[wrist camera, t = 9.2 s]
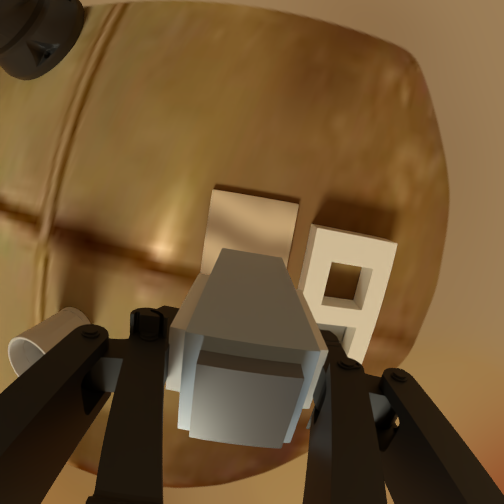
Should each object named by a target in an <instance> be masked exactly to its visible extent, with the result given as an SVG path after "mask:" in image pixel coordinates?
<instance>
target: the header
mask: <svg viewBox="0 0 504 504" xmlns="http://www.w3.org/2000/svg"><path fill="white" fill-rule="evenodd" d="M396 248H397V243H395V242H392V241H390V240H388V239H385V238H381V237H376V236H371V235H366V234H361V233H356V232H351V231H346V230H341V229H336V228H331V227H326V226H321V225H316V224H311V228H310V233H309V238H308V243H307V248H306V253H305V257H304V262H303V267H302V271H301V276H300V280H299V285H298V289H297V290H302V292H303V295H304V297H305V299H306V301H307V303H308V306H309V308H310V310H311V312H312V315H313V317H314V319H315V321H316V323H317V326H318V328H319V329H321V330H329V331H331V332H332V333H333V334H335V335H336V336H337V338H338V340H339V341H340V342H339V343H341V345H342V347H343V349H344V351H345V353H346V355H347V357H348V358H352V359H354V360H356V361H358V362H359V363H360V364H361V365H362V362H363V359H364V356H365V353H366V351H367V348H368V345H369V342H370V339H371V336H372V333H373V330H374V327H375V324H376V321H377V318H378V314H379V311H380V308H381V304H382V301H383V298H384V294H385V291H386V287H387V283H388V280H389V276H390V272H391V268H392V265H393V261H394V257H395V252H396ZM331 262H336V263H342V264H348V265H354V266H360V267H362V269H361V273H360V277H359V281H358V284H357V288H356V292H355V296H354V299H353V300H348V299H341V298H334V297H327V296H324V292H325V288H326V283H327V279H328V275H329V271H330V267H331Z"/></svg>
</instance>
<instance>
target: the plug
mask: <svg viewBox="0 0 504 504" xmlns="http://www.w3.org/2000/svg"><path fill="white" fill-rule="evenodd" d="M320 352H321V351H320V349H319V346H318V344H317V341H316V339H315V336H314V334H313V332H312V329H311V327H310V324H309V322H308V319H307V317H306V314H305V312H304V310H303V307H302V305H301V302H300V300H299V297H298V295H297V293H296V290H295V288H294V285H293V283H292V281H291V278H290V276H289V273H288V271H287V269H286V266H285V264H284V262H283V259H282V258H281V257H275V256H269V255H263V254H257V253H251V252H245V251H239V250H233V249H227V248H222V250H221V252H220V254H219V256H218V258H217V261H216V263H215V265H214V267H213V270H212V272H211V274H210V276H209V279H208V281H207V283H206V285H205V288H204V290H203V292H202V294H201V297H200V299H199V301H198V303H197V306H196V308H195V310H194V313H193V315H192V317H191V320H190V322H189V324H188V327H187V329H186V331H185V339H184V350H183V361H182V373H181V385H180V399H179V414H178V428H179V429H184V430H190V432H189V437H193V438H198V439H204V440H210V441H216V442H223V443H230V444H238V445H247V446H256V447H267V448H281V447H282V444H283V442H284V443H290V441H291V439H292V436H293V433H294V430H295V428H296V425H297V422H298V419H299V417H300V414H301V411H302V408H303V405H304V402H305V399H306V396H307V393H308V390H309V387H310V384H311V381H312V378H313V375H314V372H315V368H316V365H317V362H318V359H319V355H320Z"/></svg>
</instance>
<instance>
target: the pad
mask: <svg viewBox="0 0 504 504" xmlns="http://www.w3.org/2000/svg"><path fill="white" fill-rule="evenodd" d="M298 206H299V204H296V203H290V202H285V201H280V200H274V199H269V198H263V197H257V196H251V195H245V194H239V193H233V192H227V191H221V190H214V189H213V190H212V197H211V203H210V209H209V216H208V222H207V229H206V236H205V242H204V249H203V257H202V264H201V271H200V273H203V274H209V275H210V274H211V272H212V270H213V267H214V265H215V263H216V261H217V258H218V256H219V254H220V252H221V250H222V248H227V249H233V250H239V251H245V252H251V253H257V254H263V255H269V256H275V257H281V258H282V259H283V262H284V264H285V266H286V268H287V263H288V258H289V253H290V248H291V243H292V238H293V233H294V227H295V222H296V217H297V212H298Z"/></svg>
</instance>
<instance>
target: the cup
mask: <svg viewBox="0 0 504 504" xmlns="http://www.w3.org/2000/svg"><path fill="white" fill-rule="evenodd" d="M85 324H90V321H89V320H88V318H87V317H86V316H85V314H84V313H82V312H81V311H80V310H78V309H76V308H73V307H66V308H63V309H62V310H61V311H59V312H58V313H57V314H55V315H53V316H51V317H50V318H48V319H46V320H44V321H43V322H41V323H39V324H38V325H36V326H34V327H33V328H31V329H29V330H27V331H25V332H23V333H22V334H20V335H18V336H16V337H14V338H13V339H12V340H11V341H10V343H9V346H8V356H9V360H10V363H11V365H12V367H13V369H14V371H15V373H16V374H17V375H18V377H19V376H20V375H22V374H23V373H24V372H25V371H26V370H27V369H28V368H30V367H31V366H32V365H33V364H34V363H35V362H36V361H37V360H39V359H40V358H41V357H42V356H43V355H44V354H46V353H47V352H48V351H49V350H50V349H51V348H53V347H54V346H55V345H56V344H57V343H58V342H60V341H61V340H62V339H63V338H64V337H66V336H67V335H68V334H69V333H70V332H71V331H73V330H74V329H75V328H77V327H79V326H81V325H85Z"/></svg>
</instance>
